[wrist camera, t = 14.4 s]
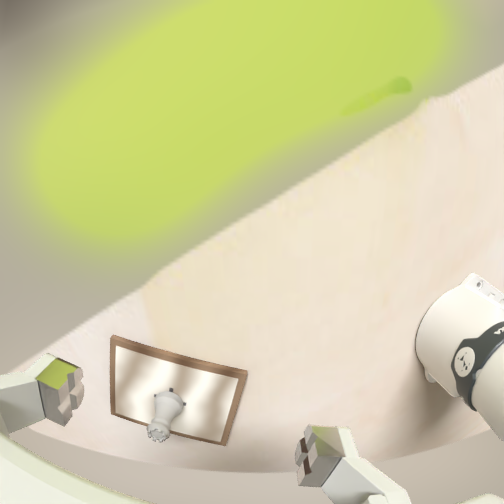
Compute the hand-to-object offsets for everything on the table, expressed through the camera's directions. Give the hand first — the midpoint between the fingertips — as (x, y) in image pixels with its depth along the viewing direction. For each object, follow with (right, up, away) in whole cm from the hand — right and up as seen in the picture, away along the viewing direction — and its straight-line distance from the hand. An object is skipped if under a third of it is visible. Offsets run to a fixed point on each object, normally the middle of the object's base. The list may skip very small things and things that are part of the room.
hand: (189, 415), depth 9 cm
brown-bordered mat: (-10, -16, +34) cm, 39 cm away
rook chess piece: (-10, -17, +33) cm, 38 cm away
